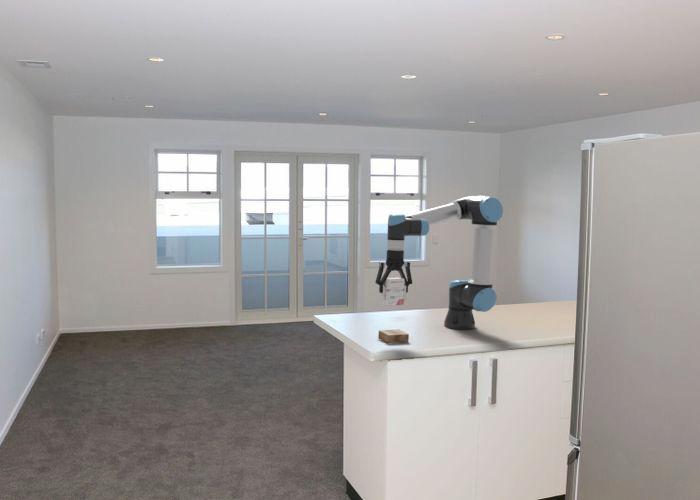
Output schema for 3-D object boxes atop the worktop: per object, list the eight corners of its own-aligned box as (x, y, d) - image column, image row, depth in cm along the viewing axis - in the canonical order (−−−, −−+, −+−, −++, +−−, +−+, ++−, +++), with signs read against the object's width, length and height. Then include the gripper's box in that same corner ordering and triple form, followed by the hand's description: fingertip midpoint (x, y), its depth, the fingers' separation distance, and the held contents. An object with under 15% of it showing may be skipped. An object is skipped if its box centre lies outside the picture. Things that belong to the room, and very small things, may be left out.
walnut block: (398, 338, 306) (398, 329, 306) (408, 343, 297) (408, 334, 296) (378, 339, 302) (378, 330, 302) (387, 344, 293) (388, 335, 293)
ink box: (397, 303, 303) (398, 276, 301) (404, 304, 299) (405, 278, 297) (381, 304, 298) (382, 277, 297) (388, 306, 294) (389, 279, 293)
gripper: (415, 248, 303) (412, 298, 305) (368, 248, 296) (366, 298, 298) (421, 250, 296) (419, 301, 298) (374, 250, 289) (372, 302, 291)
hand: (393, 300), depth 298 cm, fingers closed on ink box, 9 cm apart
